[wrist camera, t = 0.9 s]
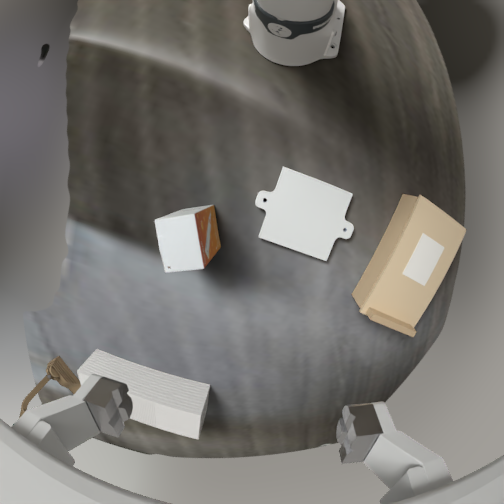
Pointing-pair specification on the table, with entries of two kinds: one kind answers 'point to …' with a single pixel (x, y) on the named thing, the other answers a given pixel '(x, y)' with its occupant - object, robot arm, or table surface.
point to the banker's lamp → (55, 372)
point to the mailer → (384, 248)
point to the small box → (188, 238)
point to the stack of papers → (154, 393)
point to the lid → (414, 268)
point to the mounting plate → (305, 214)
